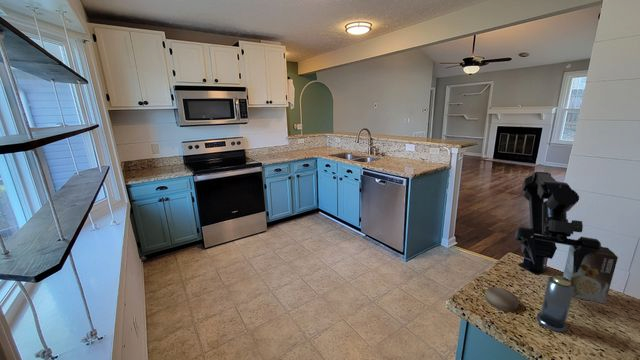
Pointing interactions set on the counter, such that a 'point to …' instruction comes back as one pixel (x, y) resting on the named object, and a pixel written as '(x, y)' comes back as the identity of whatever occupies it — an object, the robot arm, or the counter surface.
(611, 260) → the coffee box
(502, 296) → the stand
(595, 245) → the robot arm
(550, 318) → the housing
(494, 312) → the counter surface
